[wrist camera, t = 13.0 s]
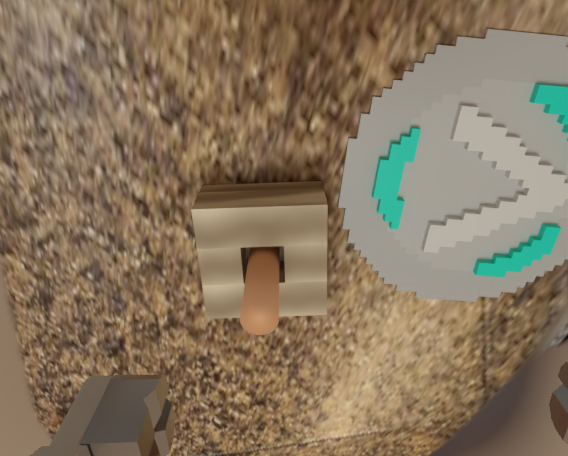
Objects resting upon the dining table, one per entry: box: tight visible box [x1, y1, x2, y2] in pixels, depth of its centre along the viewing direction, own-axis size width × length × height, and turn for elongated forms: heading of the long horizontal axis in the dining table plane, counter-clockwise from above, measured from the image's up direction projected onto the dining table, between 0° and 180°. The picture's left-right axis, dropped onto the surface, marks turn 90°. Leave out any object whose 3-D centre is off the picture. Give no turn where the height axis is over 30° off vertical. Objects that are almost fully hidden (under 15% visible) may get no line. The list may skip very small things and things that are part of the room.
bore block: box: [191, 181, 328, 319], centre depth 43 cm, size 12×12×6 cm
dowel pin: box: [240, 246, 280, 335], centre depth 39 cm, size 3×3×12 cm
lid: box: [338, 29, 568, 302], centre depth 43 cm, size 28×28×2 cm
